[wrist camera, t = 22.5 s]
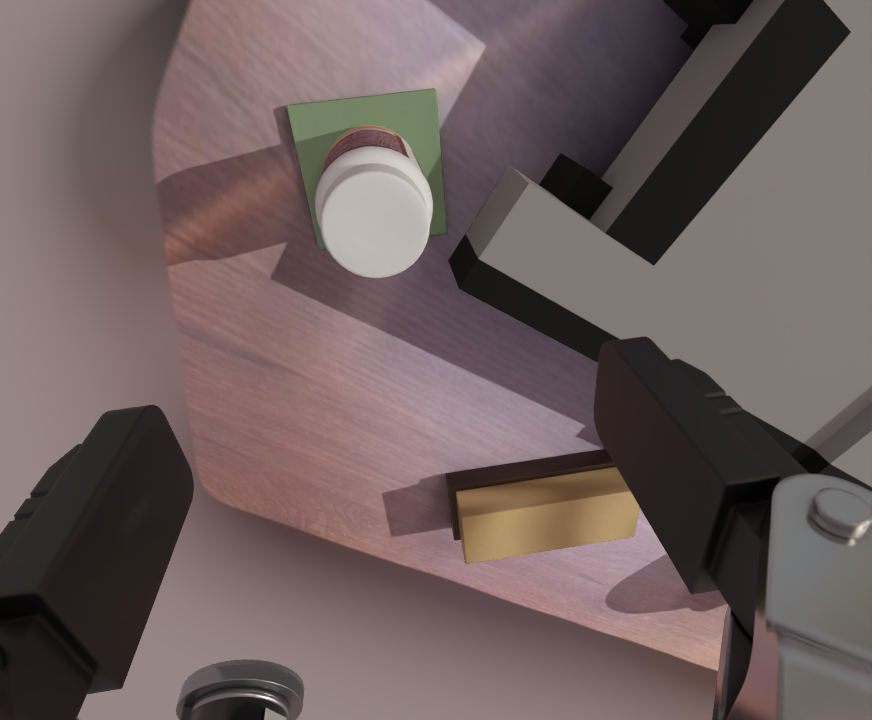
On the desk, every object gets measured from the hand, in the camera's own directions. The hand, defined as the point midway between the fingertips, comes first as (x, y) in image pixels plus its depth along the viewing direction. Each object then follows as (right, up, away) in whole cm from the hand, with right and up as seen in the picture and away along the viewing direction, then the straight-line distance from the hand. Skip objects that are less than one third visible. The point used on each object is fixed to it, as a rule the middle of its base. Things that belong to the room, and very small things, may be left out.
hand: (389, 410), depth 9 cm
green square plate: (-2, +10, +16) cm, 20 cm away
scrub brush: (+13, -9, +31) cm, 34 cm away
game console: (+20, +9, +21) cm, 30 cm away
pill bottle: (-2, +10, +16) cm, 19 cm away
